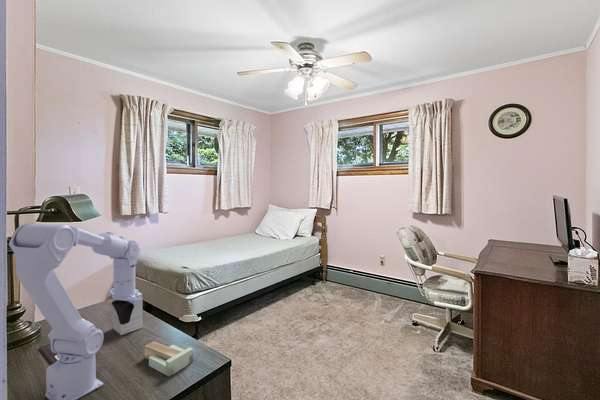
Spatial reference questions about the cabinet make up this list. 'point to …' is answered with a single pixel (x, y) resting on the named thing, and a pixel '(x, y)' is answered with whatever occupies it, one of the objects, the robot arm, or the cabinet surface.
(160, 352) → the tan wooden block
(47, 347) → the chocolate bar
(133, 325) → the supplement box
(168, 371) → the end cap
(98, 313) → the cabinet surface
